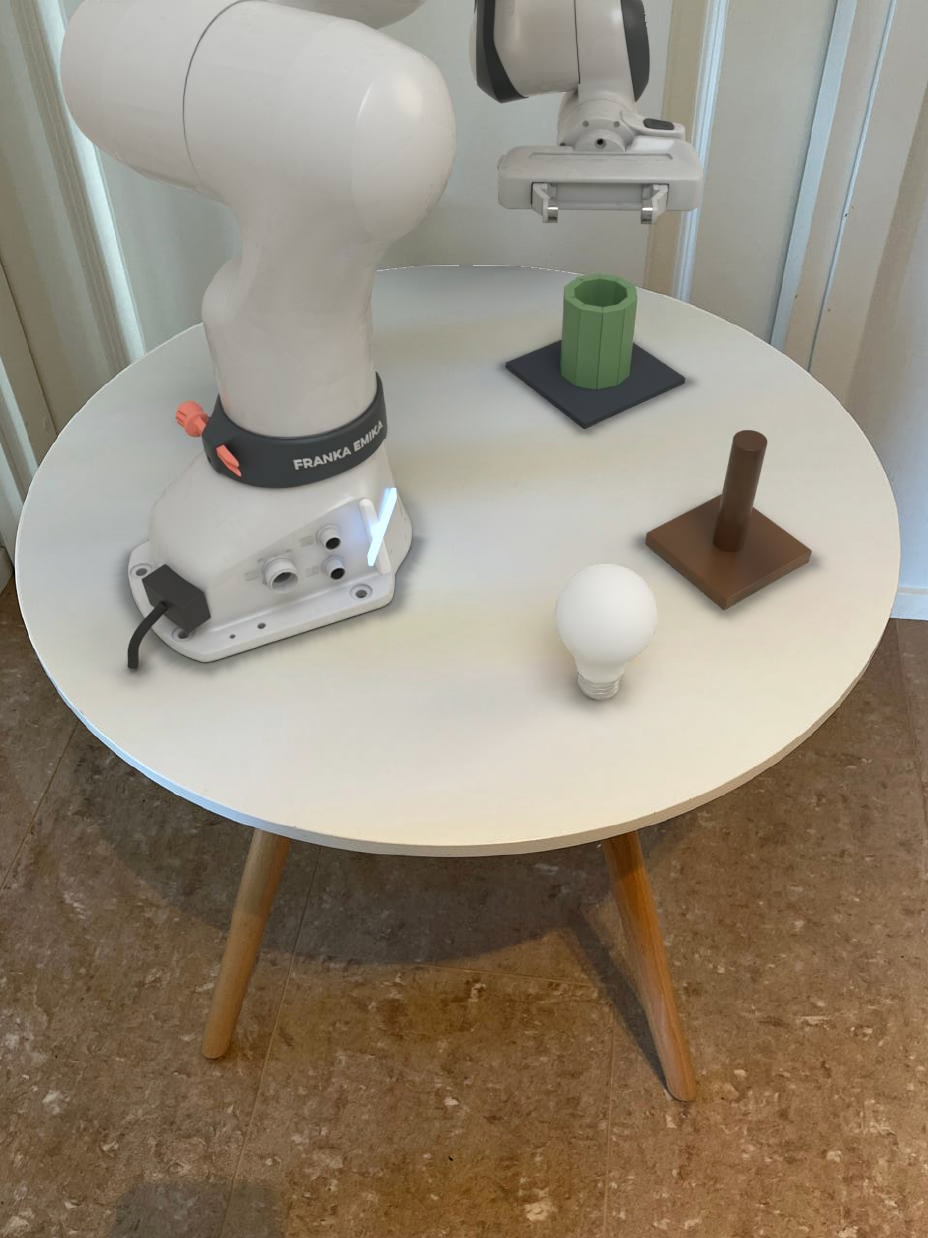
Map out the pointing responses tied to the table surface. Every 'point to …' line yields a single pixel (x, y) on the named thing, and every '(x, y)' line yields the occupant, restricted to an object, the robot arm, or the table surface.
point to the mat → (589, 403)
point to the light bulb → (605, 624)
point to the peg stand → (730, 534)
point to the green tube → (597, 330)
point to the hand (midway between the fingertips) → (599, 216)
